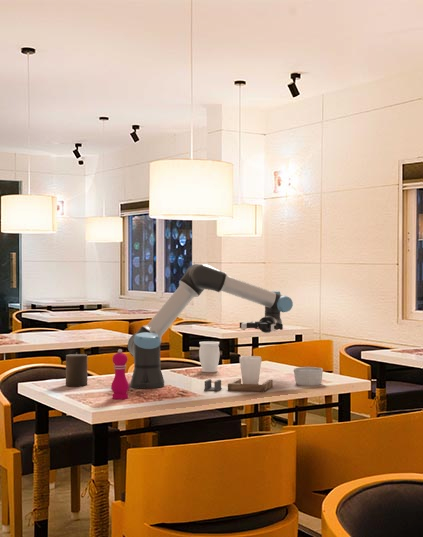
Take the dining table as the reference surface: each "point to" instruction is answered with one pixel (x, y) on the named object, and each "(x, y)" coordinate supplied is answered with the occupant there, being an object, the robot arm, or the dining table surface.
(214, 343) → the jar
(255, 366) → the foam cup
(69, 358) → the pillar candle
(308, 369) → the ramekin
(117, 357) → the pepper mill
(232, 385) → the end holder
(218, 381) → the clip
